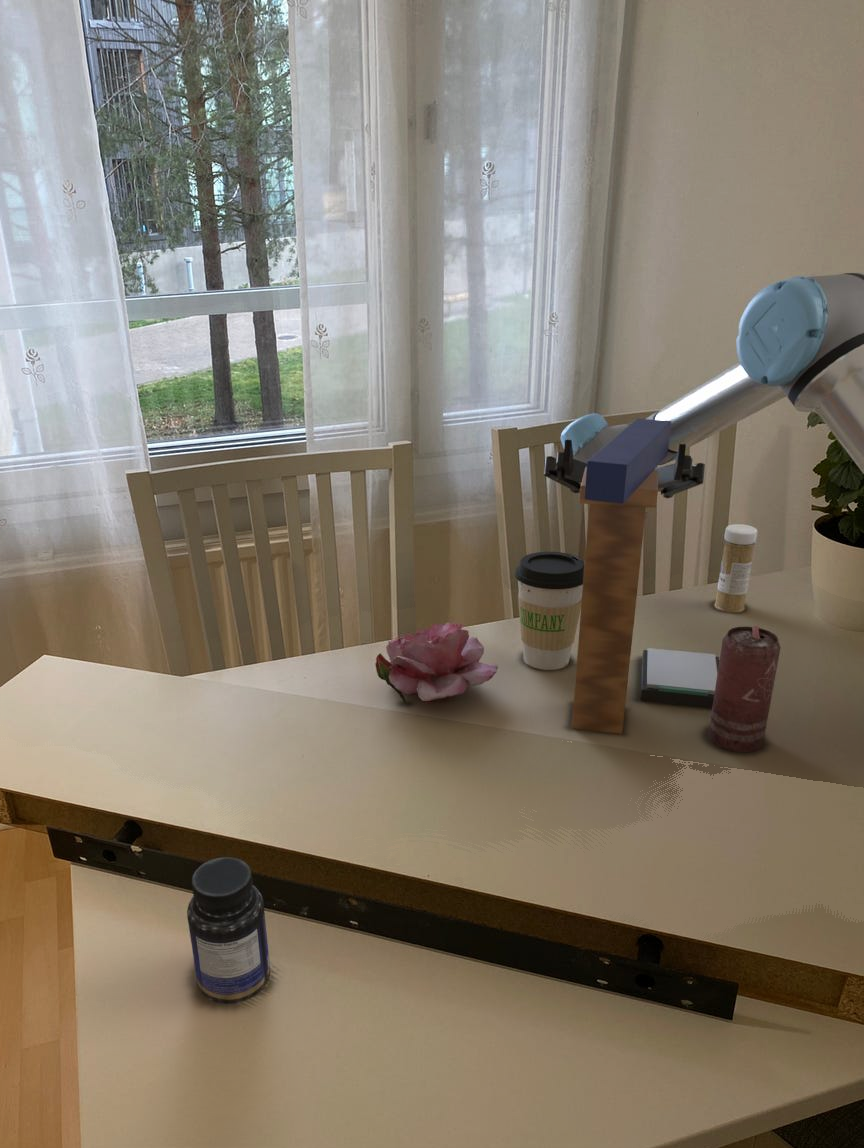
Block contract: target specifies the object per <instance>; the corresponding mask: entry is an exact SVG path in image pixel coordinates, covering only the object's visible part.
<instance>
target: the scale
mask: <svg viewBox="0 0 864 1148" xmlns="http://www.w3.org/2000/svg"><path fill="white" fill-rule="evenodd" d="M719 660H720V656H716V653H704V652H695V651H694V652H693V651H684V650H672V649H663V648H651V647H648V648H647V649H643V650H642V655H641V675H640V676H641V681H640V701H642V702H643V701H644V702H654V703H663V704H673V705H680V706H681V705H683V706H691V707H700V708H711V709H712V706H713V700H714V693H715V687H716V680H717V674H718V667H719Z"/></svg>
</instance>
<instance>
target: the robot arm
mask: <svg viewBox="0 0 864 1148" xmlns="http://www.w3.org/2000/svg"><path fill="white" fill-rule="evenodd" d="M737 328H738V334H737V337H736V339H735V340H736V343H735V344H736V354H737V358H738V363H736V364H734V365H732V366H730V367H729V368H727V369H725V370H724V371H722V372H721V373H719V374H718V375H716V376H713V377H712V378H710V379H709V380H707V381H705V382H704V383H702V384H701V385H699V386H698V387H695V388H693V389H692V390H691V391H688V392H687V393H686V394H684V395H682V396H681V397H679V398H677V399H675V400H674V401H673V402H670V403H669V404H667V405H666V406H664V407H663V408H661V409H660V410H658V411H656V412H654V413H653V414H651V415H650V416H649V415H648V417H646V418H645V419H652V420H666V421H671V429H670V438H669V447H668V454H667V455H666V457H665V458H664V459H663V460H662V461H661V462H660V463H659V464H658V466H659V467H658V466H657V467H656V468H655V469H654V470H658V493H659V492H660V495H661V496H662V497H663V498H665V499H671V498H673V497H674V496H675V495H676V494H680V493H682V492H684V491H686V490H690V489H692V488H695V487H698V486H700V485H703V484H704V482H705V481H704V479H705V469H706V464H705V463H702V462H698V463H694V464H693V460H694V459H693V457H692V455H686V450H687V449H689V448H691V447H693V446H695V445H697V444H698V443H700V442H702V441H705V440H707V439H708V438H710V437H712V436H713V435H715V434H718V433H720V432H721V431H724V430H725V429H728V428H729V427H730V426H733V425H735V424H737V423H739V422H740V421H742V420H745V419H746V418H748V417H750V416H752V415H754V414H756V413H758V412H759V411H761V410H763V409H765V408H768V407H769V406H771V405H773V404H775V403H777V402H778V401H780V400H782V399H784V398H787V399H788V400H789V402H790V403H791V404H792V406H793V407H794V409H796V410H797V411H798V412H802V413H815V414H817V415H818V416H819V418H820V419H821V420H822V421H823V422H824V424H825V425H826V426H827V428H828V430H830V432H831V433H832V435H833V436H834V437H835V438H836V440H837V441H838V443H839V444H840V445H841V446H842V448H843V449H844V450H845V452H846V453H847V454H848V455H849V457H850V458H851V460H852V461H853V462H854V463H855V465H856V466H857V467H858V469H859V471H861V473H862V474H863V475H864V273H862V272H846V273H839V274H829V275H828V274H826V275H815V276H814V275H813V276H805V275H804V276H803V275H798V276H791V277H790V278H786V279H784V280H779V281H776V282H773V283H771V284H769V285H767V286H765V287H764V288H762V289H761V290H760V291H759V292H758V293H757V294H755V295H754V297H753V298H752V299H751V300H750V301H749V302H748V304H747V306H746V307H745V309H744V310H743V313H742V315H741V318H740V319H739V322H738V326H737ZM632 423H633V422H628V423H622V424H618V425H612V426H609V423H608V422H607V420H606V419H605V418H604V416H603V415H601V414H599V413H597V412H593V413H589V414H586V415H583V416H581V417H579V418H577V419H575V420H574V421H572V422H571V423H569V424H568V425H566V426H565V428H564V429H563V430H562V432H561V434H560V442H561V445H562V448H563V451H558V452H557V453H556V457H554V456H551V455H549V456H546V457H545V460H544V461H545V462H544V470H543V476H544V477H546V478H548V479H549V480H552V481H554V482H556V483H558V484H560V485H562V486H564V487H566V488H568V489H569V490H570V492H571V493H573V494H580V488H581V483H582V479H583V476H584V472H585V468H586V467H587V461H588V460H589V459H590V458H592V457H593V456H594V455H595V454H596V453H597V452H599V451H600V450H601V449H602V448H603V447H605V446H606V445H607V444H608V443H609V442H610V441H612V440H613V439H614V438H615V437H616V436H617V435H619V434H620V433H621V432H622V431H623V430H625V429H626V428H627V427H628V426H629V425H630V424H632ZM674 461H675V462H674ZM671 462H674V463H671ZM668 463H670V464H668ZM646 519H647V511H646V514H645V521H646Z"/></svg>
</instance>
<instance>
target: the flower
mask: <svg viewBox="0 0 864 1148" xmlns="http://www.w3.org/2000/svg"><path fill="white" fill-rule="evenodd" d="M463 626H464V623H457V624H455V625H454V623H453V622H451V621H449V622H446V623H445V624H439V623H435V624H433V625H432V626H430V627H429V629H422V628H420V629H419V630H417V632H416V633H414V634H411V633H406V634H404V635H403V636H400V637H396V638H395V639H391V640H388V644H387V645H386V646H385V648H386V653H387V656H388V658H389V659H388V660H389V661H388V660H387V659H386V657H384V655H383V654H382V653H381V652H380V653H379V654H378V655H376V657H375V671H376V674H377V677H378V678H379V679H380V680H383V681H385V683H386V684H387V685H388V686H390V687H391V688H392V689H393V690H394V691H395V692H396V693H397V694H398V695H399V697H400V698H401V700H402V701H403V702H404V704H405V705H408V702H407V699H406V697H405V695H404V694H406V695H410V694H417V695H418V698H419V699H420V700H421V701H422V702H430V701H436V700H439V699H444V698H447V697H453V696H460V695H462V694H464V693H465V692H466V691H467V689H468V687H469V686H470V687H471V686H472V687H475V686H480V685H482V684H484V683H487V682H489V681H490V680H491V679H492V678H493V677H494V676H495V675H496V674H497V673H498V668H499V667H498V663H484V662H481V661H480V660H481V659H482V657H483V656H484V652H485V647H484V645H483V644H482V643H481V642H480V641H479V639H478V638H477V637H475V636H472V637H470V635H469V630H466V629H463Z"/></svg>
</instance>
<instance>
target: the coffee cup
mask: <svg viewBox="0 0 864 1148" xmlns="http://www.w3.org/2000/svg"><path fill="white" fill-rule="evenodd" d="M584 564H585V560H583V559H582V558H581V557H578V556H577V555H574V554H572V553H571V554H570V553H567V552H562V551H561V552H560V551H539V552H533V553H529V554H526V555H524V556H523V557H522V558H521V559H520V561H519V564H518V565H517V566H516V568H515V572H514V577H515V579H516V580H517V584H518V593H517V600H518V613H519V624H520V625H519V627H520V637H521V641H522V653H523V661H524V663H525V664H527V665H528V666H529V667H532V668H535V669H537V670H543V671H554V670H560V669H562V668H565V667H566V666H568V665H569V662H570V658H571V653H572V649H573V645H574V642H575V640H576V639H575V638H576V634H577V629H578V625H579V624H578V623H579V621H580V615H581V602H582V590H583V577H584Z"/></svg>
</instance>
